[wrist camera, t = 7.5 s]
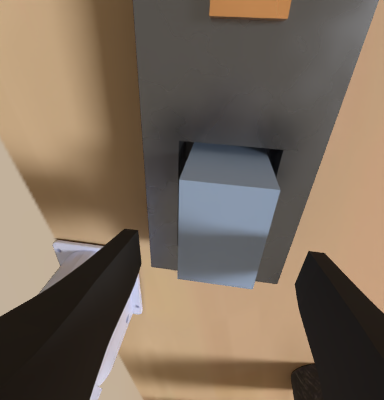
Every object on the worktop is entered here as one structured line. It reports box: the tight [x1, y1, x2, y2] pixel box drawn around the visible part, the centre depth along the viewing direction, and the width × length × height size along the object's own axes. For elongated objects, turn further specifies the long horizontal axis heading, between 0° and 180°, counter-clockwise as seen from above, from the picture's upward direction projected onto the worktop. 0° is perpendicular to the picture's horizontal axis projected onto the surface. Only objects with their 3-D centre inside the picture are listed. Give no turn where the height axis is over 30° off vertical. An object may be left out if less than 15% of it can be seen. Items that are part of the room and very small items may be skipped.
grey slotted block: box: [133, 0, 379, 284], centre depth 13 cm, size 18×9×4 cm, turn 178°
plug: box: [178, 142, 280, 289], centre depth 13 cm, size 6×4×6 cm, turn 178°
